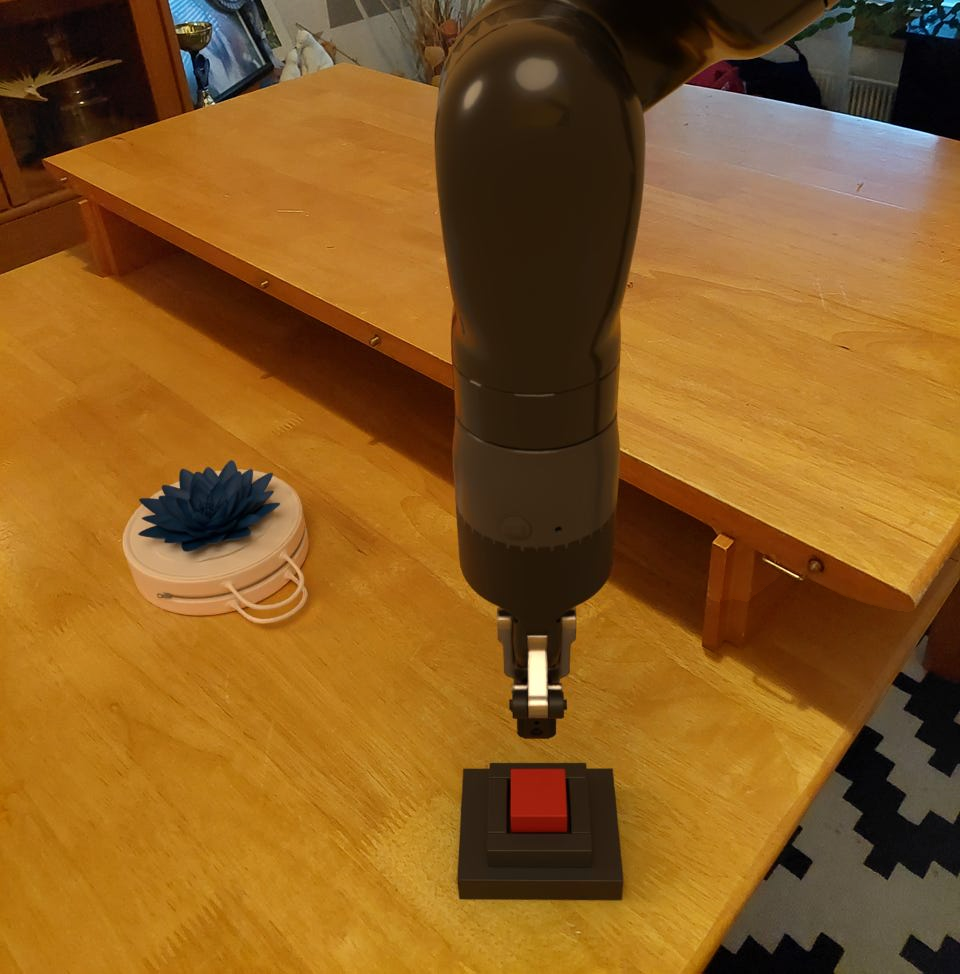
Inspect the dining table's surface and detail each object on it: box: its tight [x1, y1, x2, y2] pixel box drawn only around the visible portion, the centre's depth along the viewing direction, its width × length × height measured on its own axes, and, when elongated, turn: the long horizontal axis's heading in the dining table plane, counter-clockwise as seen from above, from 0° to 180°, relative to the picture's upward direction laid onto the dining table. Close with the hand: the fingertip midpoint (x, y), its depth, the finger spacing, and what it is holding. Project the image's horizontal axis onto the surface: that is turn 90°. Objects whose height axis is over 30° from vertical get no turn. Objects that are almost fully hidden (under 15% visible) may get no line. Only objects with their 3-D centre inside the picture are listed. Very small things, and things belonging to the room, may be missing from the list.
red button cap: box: [511, 769, 567, 832], centre depth 57 cm, size 3×3×2 cm
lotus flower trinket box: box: [121, 459, 310, 625], centre depth 81 cm, size 7×16×20 cm
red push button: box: [456, 762, 625, 901], centre depth 59 cm, size 10×8×4 cm
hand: (536, 727), depth 53 cm, fingers closed
